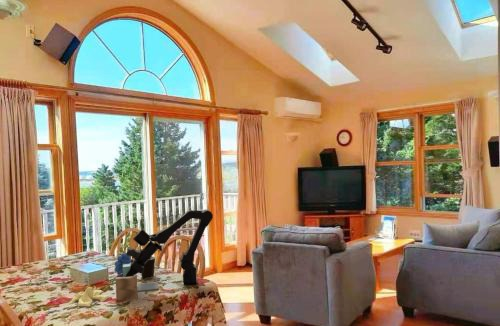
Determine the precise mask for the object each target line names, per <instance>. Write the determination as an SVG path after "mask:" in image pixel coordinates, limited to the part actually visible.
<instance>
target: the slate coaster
mask: <svg viewBox="0 0 500 326" xmlns="http://www.w3.org/2000/svg"><path fill="white" fill-rule="evenodd" d="M158 290H159V282H150V283H142V284H141V283H140V284H138V283H137V293H139V292H140V293H141V292H148V291H158Z"/></svg>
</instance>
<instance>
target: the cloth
mask: <svg viewBox="0 0 500 326" xmlns="http://www.w3.org/2000/svg"><path fill="white" fill-rule="evenodd" d="M102 293H104V291H103V290H101V289H95V290H94V289H93V287H90V286H89V287H87V288H86V289H85V291H84V292H83V293H78V294H76V295H74V296H73V297H72V299H71V300H70V301H69V302H68V303H67V306H68V305H69V306H70V305H73V304H75V302H77V301H78V303H77V307H90V305H91V304H92V303H93V300H95V301H96V300H97V301H99V302H101V303H103V302H106V300H108V299H109V298H110V297H111V296H110V295H109V294H102Z"/></svg>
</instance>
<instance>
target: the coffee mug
mask: <svg viewBox="0 0 500 326" xmlns="http://www.w3.org/2000/svg"><path fill="white" fill-rule="evenodd" d="M155 265H156V257H155V256H153V255H152V257H151V259H150V260H148V261H147V262H146V263H145V265H144V266H143V272H142V273H140V274H141V278H142V277H143V279H150V278H153V277H154V276H155V267H156V266H155Z"/></svg>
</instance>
